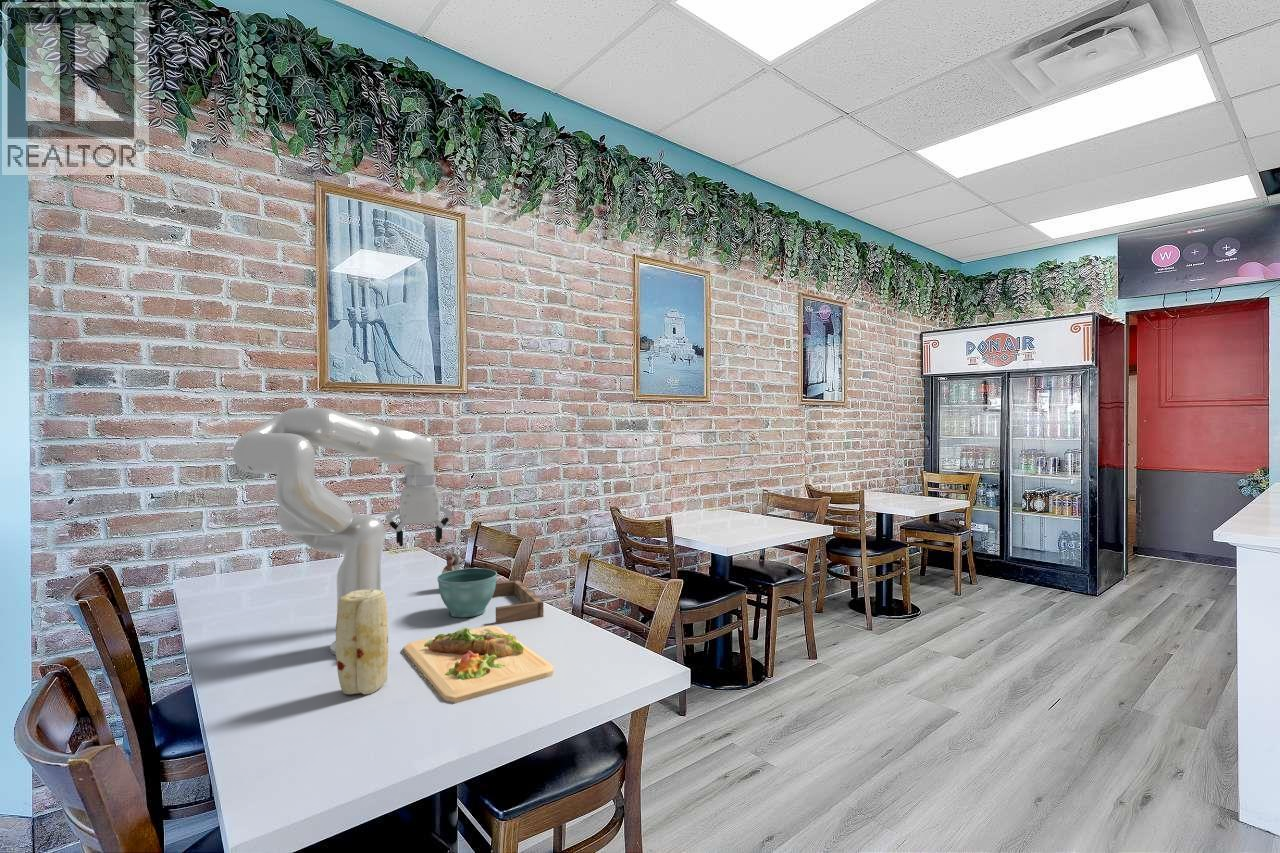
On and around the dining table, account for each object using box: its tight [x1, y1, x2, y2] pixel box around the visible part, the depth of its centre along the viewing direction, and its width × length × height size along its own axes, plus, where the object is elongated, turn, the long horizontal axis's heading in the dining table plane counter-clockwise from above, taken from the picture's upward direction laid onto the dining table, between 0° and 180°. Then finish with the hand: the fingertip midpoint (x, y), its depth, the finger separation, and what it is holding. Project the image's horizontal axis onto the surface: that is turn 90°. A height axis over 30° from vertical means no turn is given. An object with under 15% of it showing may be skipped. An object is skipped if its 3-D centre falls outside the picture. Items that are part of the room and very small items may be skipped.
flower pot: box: [436, 567, 498, 618], centre depth 167 cm, size 16×16×11 cm
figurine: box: [441, 552, 462, 574], centre depth 190 cm, size 7×7×12 cm
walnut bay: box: [491, 579, 544, 625], centre depth 172 cm, size 26×13×4 cm, turn 27°
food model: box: [335, 590, 389, 695], centre depth 119 cm, size 10×7×20 cm
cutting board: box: [403, 625, 555, 704], centre depth 133 cm, size 35×23×8 cm
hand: (419, 543), depth 163 cm, fingers open, 9 cm apart
